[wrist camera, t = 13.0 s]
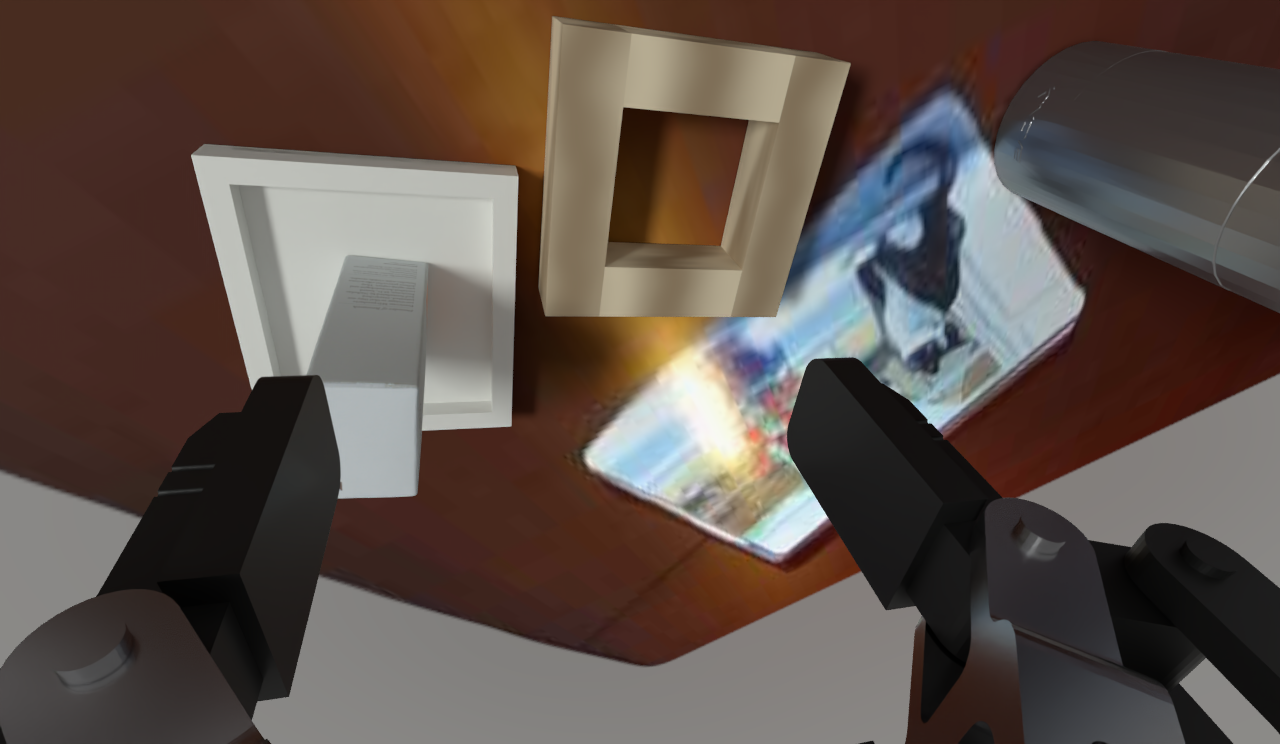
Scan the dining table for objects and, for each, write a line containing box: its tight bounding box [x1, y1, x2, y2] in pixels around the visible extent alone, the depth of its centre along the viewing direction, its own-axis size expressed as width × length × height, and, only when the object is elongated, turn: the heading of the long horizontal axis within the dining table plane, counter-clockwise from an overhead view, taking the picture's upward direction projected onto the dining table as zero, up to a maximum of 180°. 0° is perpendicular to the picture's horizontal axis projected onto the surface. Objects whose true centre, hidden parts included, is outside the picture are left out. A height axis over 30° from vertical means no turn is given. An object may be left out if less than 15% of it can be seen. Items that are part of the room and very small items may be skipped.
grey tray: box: [191, 144, 518, 431], centre depth 33 cm, size 14×16×2 cm
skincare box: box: [306, 255, 428, 498], centre depth 29 cm, size 6×4×12 cm
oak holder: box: [538, 16, 851, 317], centre depth 33 cm, size 14×14×4 cm
